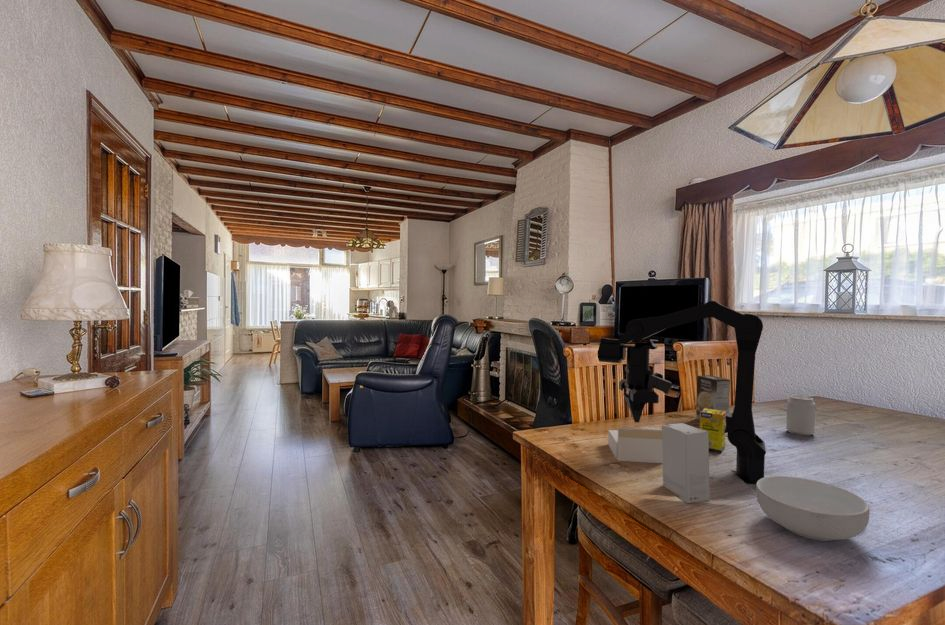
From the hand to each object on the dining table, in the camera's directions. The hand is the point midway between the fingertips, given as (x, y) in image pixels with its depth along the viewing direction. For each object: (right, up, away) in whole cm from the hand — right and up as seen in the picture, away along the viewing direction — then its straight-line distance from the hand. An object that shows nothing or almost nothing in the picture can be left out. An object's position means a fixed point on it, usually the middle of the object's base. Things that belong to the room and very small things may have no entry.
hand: (636, 421), depth 119 cm
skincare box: (+2, -10, -23) cm, 25 cm away
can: (+64, -10, +25) cm, 69 cm away
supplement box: (+25, -10, +8) cm, 28 cm away
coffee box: (+41, -10, +37) cm, 56 cm away
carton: (0, -10, +1) cm, 10 cm away
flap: (-1, -9, -5) cm, 10 cm away
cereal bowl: (+18, -11, -37) cm, 43 cm away
